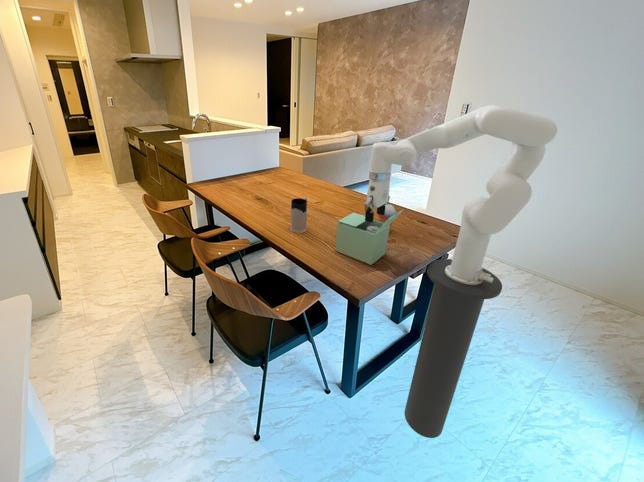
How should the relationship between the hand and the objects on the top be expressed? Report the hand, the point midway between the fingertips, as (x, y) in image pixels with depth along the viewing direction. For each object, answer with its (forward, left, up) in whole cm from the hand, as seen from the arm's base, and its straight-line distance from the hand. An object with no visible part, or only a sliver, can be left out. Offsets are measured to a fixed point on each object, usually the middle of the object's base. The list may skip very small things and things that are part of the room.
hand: (374, 217), depth 118 cm
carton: (+4, 0, -17) cm, 18 cm away
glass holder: (+39, -2, -17) cm, 43 cm away
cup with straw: (+7, -28, -17) cm, 34 cm away
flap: (-6, 0, 0) cm, 6 cm away
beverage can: (0, 0, -17) cm, 17 cm away
